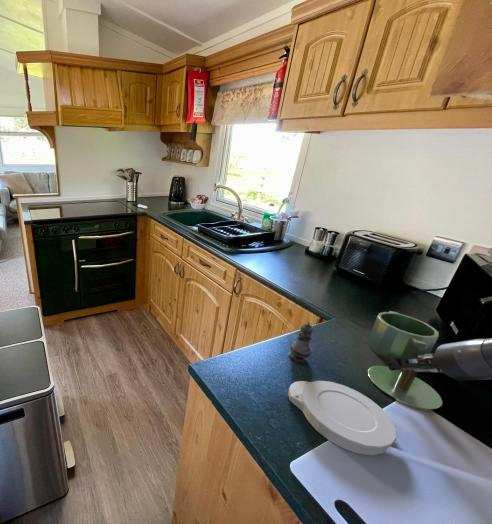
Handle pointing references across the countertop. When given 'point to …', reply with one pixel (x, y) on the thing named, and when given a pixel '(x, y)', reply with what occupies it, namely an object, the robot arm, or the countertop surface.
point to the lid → (344, 416)
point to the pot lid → (405, 387)
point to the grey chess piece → (301, 345)
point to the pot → (401, 336)
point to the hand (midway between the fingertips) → (405, 366)
